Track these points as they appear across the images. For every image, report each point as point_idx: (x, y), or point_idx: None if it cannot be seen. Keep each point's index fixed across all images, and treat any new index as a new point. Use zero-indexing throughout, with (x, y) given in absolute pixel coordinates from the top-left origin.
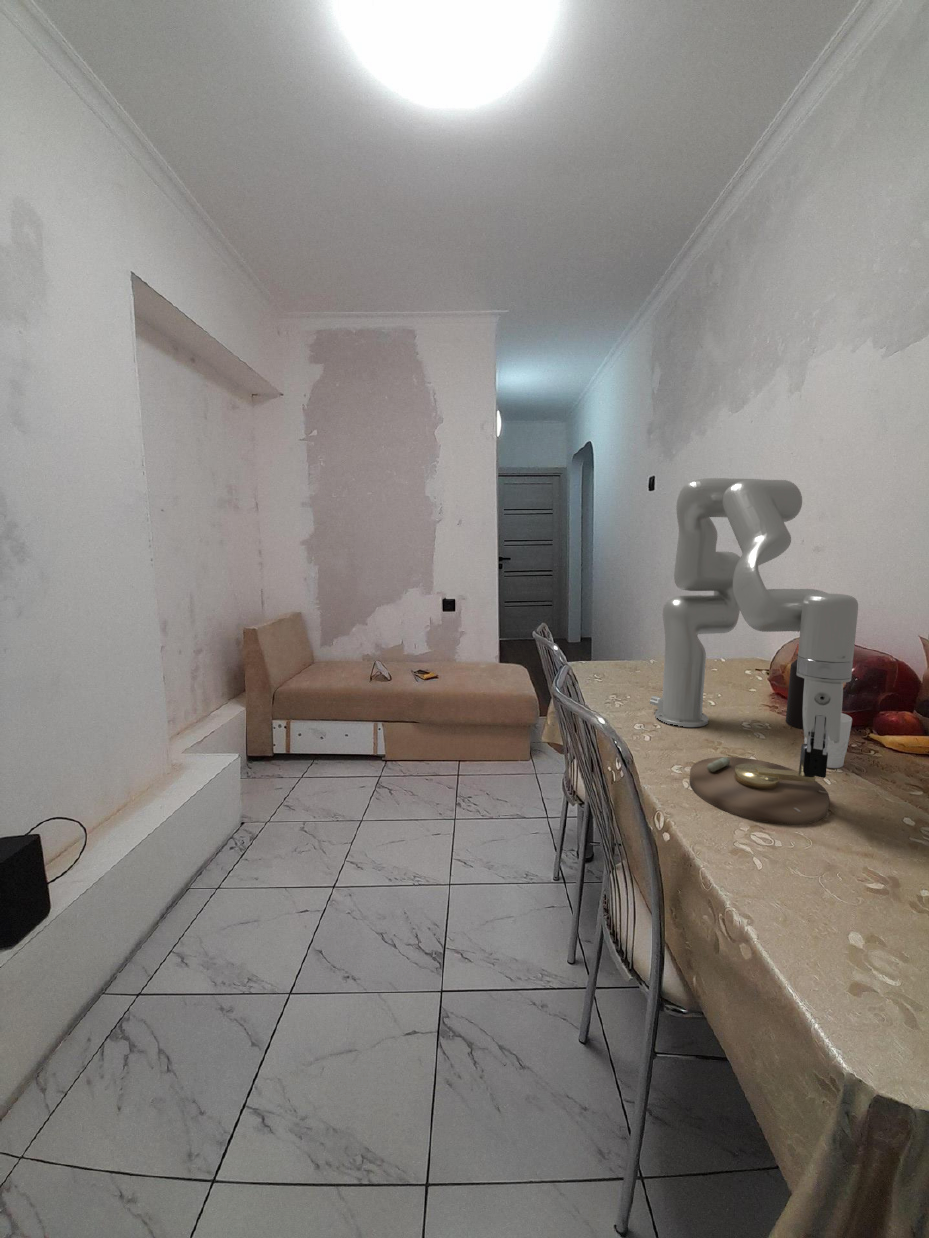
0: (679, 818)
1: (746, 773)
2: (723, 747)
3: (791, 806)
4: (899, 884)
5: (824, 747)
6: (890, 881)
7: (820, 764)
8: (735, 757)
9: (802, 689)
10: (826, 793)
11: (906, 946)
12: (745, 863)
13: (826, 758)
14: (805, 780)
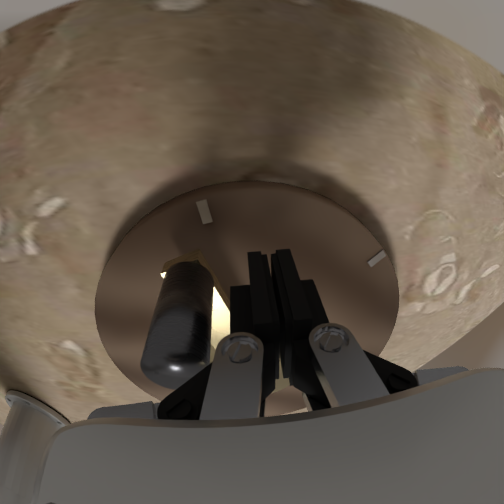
0: (408, 366)
1: (279, 379)
2: (72, 380)
3: (360, 270)
4: (492, 89)
5: (404, 373)
6: (491, 100)
7: (321, 303)
8: (136, 384)
9: None
10: (207, 202)
11: None
12: (491, 280)
13: (306, 307)
14: (212, 274)
